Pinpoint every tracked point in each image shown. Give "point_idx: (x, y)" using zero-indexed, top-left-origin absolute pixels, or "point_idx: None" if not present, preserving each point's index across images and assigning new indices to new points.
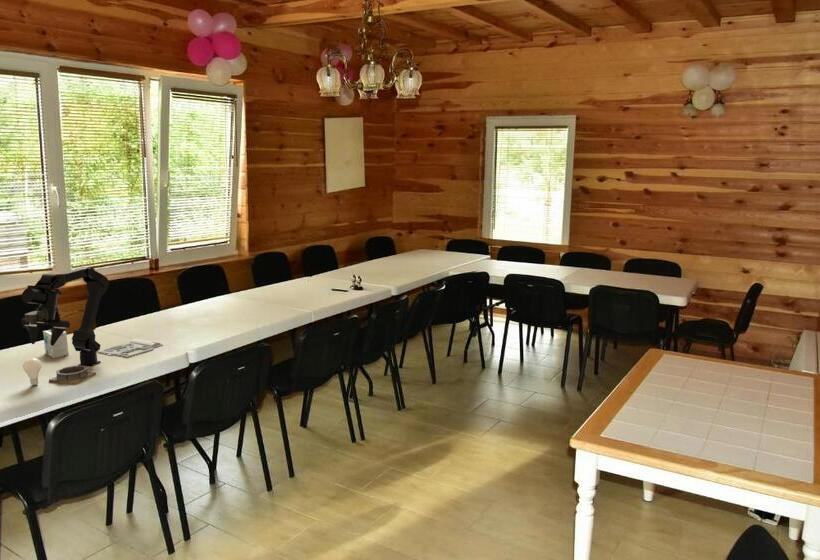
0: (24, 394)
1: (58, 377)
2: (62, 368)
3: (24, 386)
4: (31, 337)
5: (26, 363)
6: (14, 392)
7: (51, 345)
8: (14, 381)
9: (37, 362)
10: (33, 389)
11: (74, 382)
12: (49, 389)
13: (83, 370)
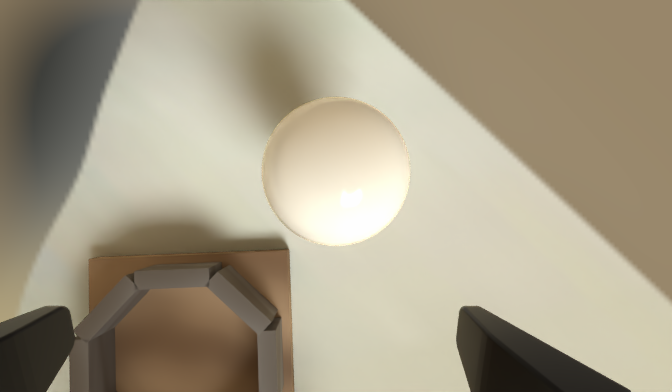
0: (264, 42)
1: (212, 264)
2: (272, 384)
3: None
4: (539, 362)
5: (335, 100)
6: (349, 55)
7: (56, 308)
8: (510, 209)
9: (267, 167)
10: None
11: (93, 258)
12: (186, 145)
13: (78, 385)
